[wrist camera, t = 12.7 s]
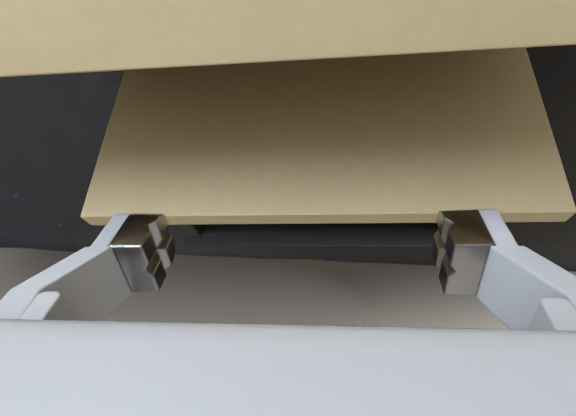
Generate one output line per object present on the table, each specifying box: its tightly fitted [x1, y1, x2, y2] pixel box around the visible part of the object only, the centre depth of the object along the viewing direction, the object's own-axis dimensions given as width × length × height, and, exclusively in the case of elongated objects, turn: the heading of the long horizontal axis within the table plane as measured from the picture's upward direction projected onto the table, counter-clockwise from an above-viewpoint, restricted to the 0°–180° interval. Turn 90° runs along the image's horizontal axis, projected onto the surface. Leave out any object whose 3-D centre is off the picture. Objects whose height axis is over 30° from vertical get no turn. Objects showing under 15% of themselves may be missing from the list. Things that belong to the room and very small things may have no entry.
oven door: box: [81, 48, 576, 247], centre depth 24 cm, size 22×7×15 cm, turn 95°
